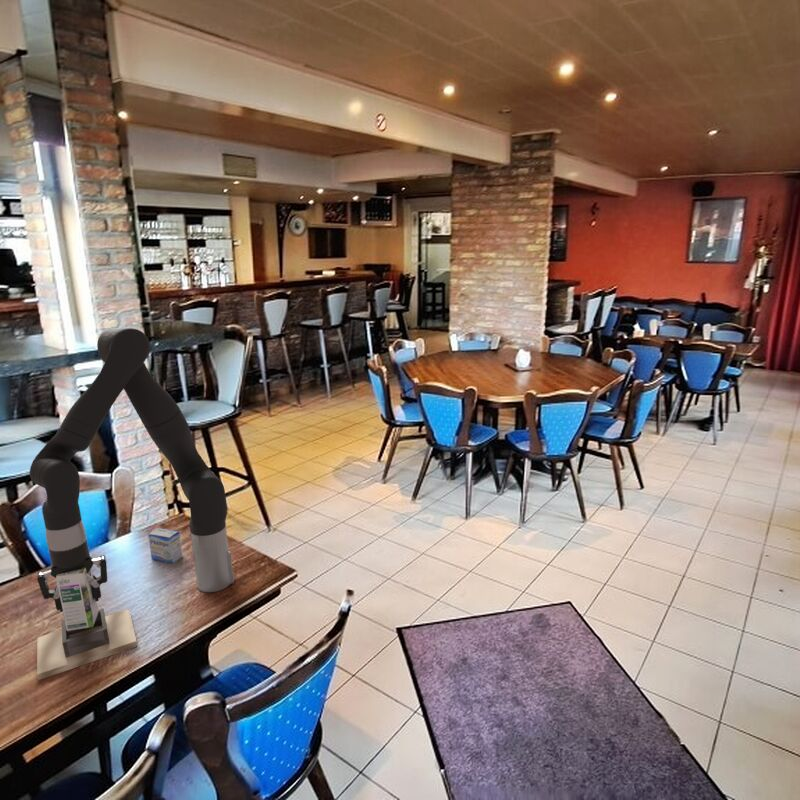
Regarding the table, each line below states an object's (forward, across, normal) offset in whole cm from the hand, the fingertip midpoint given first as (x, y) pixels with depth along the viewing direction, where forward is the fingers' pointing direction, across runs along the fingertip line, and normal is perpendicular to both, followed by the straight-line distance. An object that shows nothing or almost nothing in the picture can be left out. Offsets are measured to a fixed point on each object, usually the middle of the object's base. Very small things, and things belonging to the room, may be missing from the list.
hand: (79, 604), depth 131 cm
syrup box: (+5, 0, 0) cm, 5 cm away
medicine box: (+11, -23, -30) cm, 39 cm away
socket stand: (+11, 0, 0) cm, 11 cm away
